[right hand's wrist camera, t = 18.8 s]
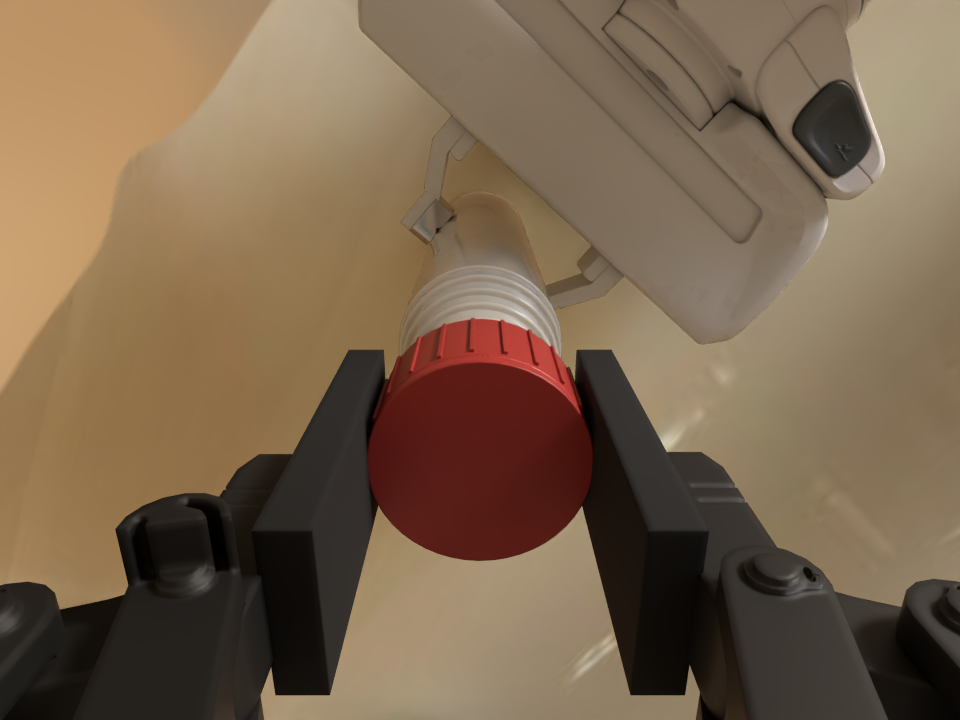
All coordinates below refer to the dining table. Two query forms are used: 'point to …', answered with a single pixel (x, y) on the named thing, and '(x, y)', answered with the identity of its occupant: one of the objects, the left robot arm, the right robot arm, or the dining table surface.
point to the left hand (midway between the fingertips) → (467, 277)
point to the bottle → (480, 274)
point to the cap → (480, 442)
